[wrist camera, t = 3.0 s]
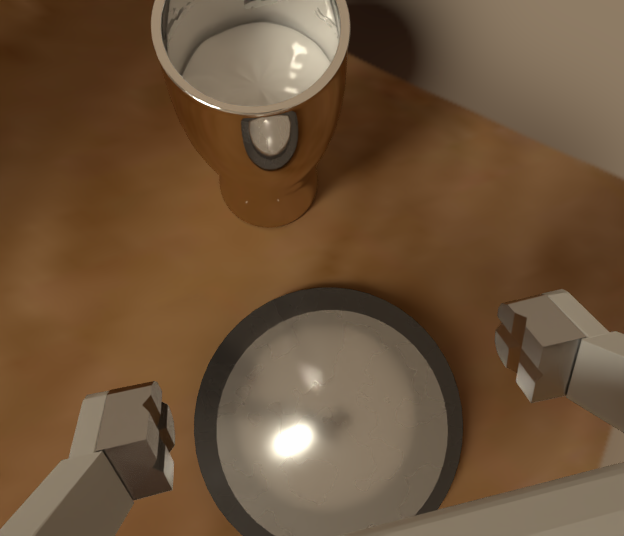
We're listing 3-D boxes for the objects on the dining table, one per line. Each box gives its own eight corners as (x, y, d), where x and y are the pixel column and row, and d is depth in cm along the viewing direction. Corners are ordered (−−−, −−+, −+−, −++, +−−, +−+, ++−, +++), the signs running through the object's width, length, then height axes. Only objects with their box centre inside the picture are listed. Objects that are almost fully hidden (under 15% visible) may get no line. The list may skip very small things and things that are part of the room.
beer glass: (197, 150, 31) (114, -36, 16) (300, 114, 32) (310, -95, 17) (235, 251, 30) (185, 151, 15) (341, 212, 31) (389, 79, 16)
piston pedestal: (142, 411, 28) (125, 418, 25) (334, 239, 31) (339, 227, 28) (321, 622, 27) (325, 655, 24) (509, 425, 29) (534, 433, 26)
